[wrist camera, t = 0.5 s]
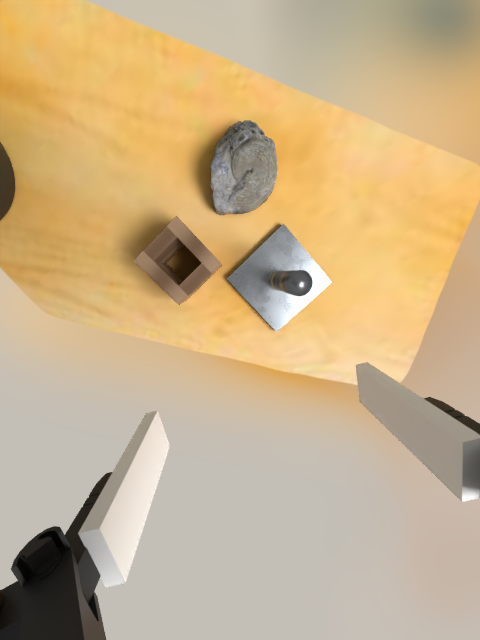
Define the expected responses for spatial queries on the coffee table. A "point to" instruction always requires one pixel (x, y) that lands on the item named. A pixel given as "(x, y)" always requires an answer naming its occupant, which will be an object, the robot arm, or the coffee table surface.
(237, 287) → the knob on metal plate
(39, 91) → the coffee table surface
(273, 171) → the fossilized seashell
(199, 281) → the collar
